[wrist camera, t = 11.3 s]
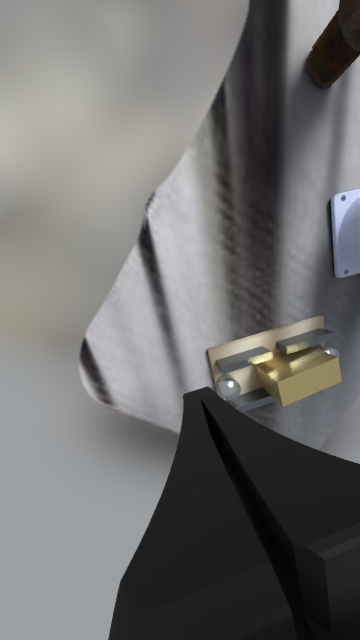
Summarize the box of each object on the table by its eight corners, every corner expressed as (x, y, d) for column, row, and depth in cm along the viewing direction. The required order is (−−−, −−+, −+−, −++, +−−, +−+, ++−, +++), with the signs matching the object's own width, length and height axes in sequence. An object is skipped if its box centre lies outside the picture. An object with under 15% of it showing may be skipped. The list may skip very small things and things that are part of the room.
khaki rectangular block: (303, 342, 21) (338, 357, 17) (307, 363, 21) (341, 381, 18) (253, 362, 20) (277, 382, 16) (258, 383, 21) (283, 406, 17)
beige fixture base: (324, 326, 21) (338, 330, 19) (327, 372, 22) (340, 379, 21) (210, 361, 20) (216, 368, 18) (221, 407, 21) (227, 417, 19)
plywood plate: (318, 315, 21) (323, 316, 21) (323, 378, 23) (328, 381, 22) (206, 348, 20) (208, 351, 19) (221, 413, 22) (223, 416, 21)
